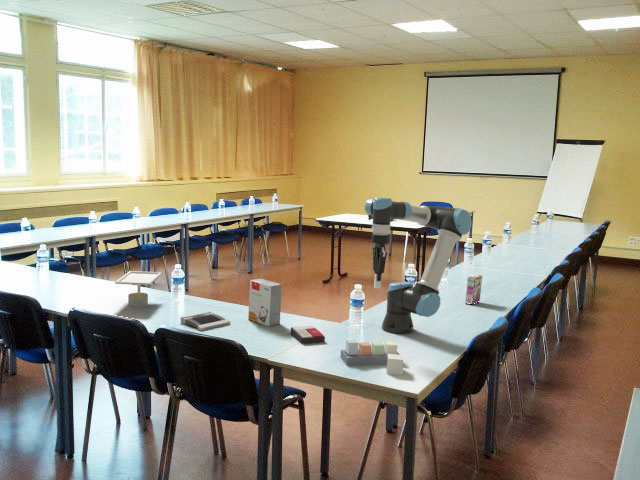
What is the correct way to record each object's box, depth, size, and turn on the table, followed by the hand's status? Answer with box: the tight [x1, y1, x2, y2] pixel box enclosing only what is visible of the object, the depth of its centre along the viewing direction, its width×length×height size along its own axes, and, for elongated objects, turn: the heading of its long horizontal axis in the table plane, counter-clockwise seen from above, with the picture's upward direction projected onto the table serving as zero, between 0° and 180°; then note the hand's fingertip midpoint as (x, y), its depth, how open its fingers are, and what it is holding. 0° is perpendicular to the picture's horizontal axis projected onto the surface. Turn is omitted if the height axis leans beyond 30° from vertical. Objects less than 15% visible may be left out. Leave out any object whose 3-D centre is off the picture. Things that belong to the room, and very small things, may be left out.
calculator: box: [290, 325, 326, 345], centre depth 271 cm, size 11×4×15 cm
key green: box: [371, 341, 385, 355], centre depth 246 cm, size 4×4×5 cm
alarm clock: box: [180, 311, 231, 332], centre depth 286 cm, size 17×5×16 cm
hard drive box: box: [247, 278, 283, 327], centre depth 293 cm, size 16×8×20 cm, turn 47°
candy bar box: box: [465, 274, 483, 304], centre depth 353 cm, size 11×5×16 cm, turn 144°
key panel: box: [340, 348, 401, 366], centre depth 246 cm, size 23×10×3 cm, turn 102°
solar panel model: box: [114, 270, 163, 309], centre depth 313 cm, size 28×17×15 cm, turn 2°
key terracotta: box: [358, 342, 372, 355], centre depth 245 cm, size 4×4×5 cm
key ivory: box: [384, 341, 398, 355], centre depth 247 cm, size 4×4×5 cm
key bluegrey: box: [345, 339, 359, 355], centre depth 244 cm, size 4×4×5 cm
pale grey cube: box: [386, 354, 404, 376], centre depth 235 cm, size 6×6×6 cm
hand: (377, 287), depth 260 cm, fingers closed
